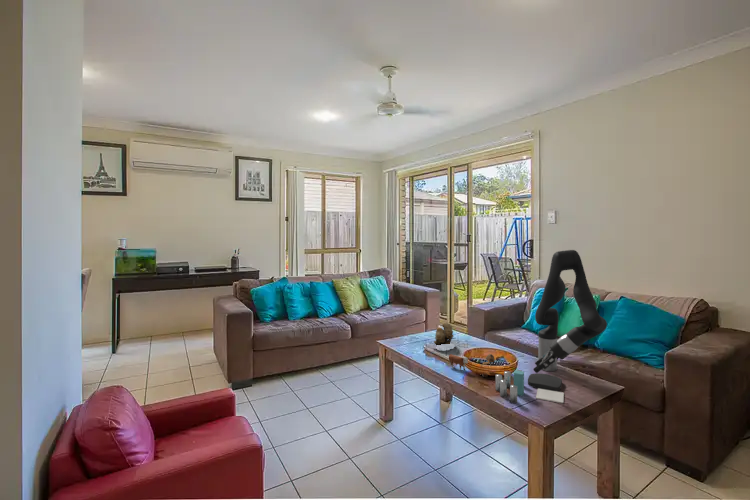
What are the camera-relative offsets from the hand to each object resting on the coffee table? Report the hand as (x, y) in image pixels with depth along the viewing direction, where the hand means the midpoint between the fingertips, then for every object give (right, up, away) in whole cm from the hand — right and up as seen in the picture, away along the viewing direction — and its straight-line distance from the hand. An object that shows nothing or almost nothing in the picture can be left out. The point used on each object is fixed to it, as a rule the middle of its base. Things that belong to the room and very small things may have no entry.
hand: (535, 368), depth 169 cm
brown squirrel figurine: (-28, -10, +74) cm, 80 cm away
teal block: (-6, -13, +4) cm, 15 cm away
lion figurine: (-13, -12, +29) cm, 34 cm away
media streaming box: (+11, -13, +14) cm, 22 cm away
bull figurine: (-27, -12, +35) cm, 46 cm away
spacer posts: (-11, -13, +6) cm, 18 cm away
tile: (+7, -13, +1) cm, 15 cm away
